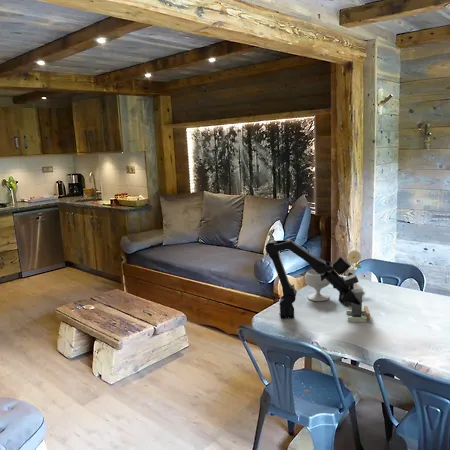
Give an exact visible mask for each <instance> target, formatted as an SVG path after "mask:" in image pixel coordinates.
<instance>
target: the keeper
mask: <svg viewBox="0 0 450 450" xmlns="http://www.w3.org/2000/svg"><path fill="white" fill-rule="evenodd" d="M345 314H346V315H351V309H346V310H345ZM363 315H364V317H363ZM347 322H353V323H354V322H356V323H358V322H359V323H360V322H361V323H362V322H363V323H366V322H367V323H370V322H371V312H370V310H369V306H367V305H364V306H363V309H362V317H352V316H347Z"/></svg>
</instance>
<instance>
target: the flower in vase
mask: <svg viewBox="0 0 450 450" xmlns="http://www.w3.org/2000/svg"><path fill="white" fill-rule="evenodd" d="M346 256H347V259H346V260H347V261H348V263H349V264H350V265H351V267H350V268H349V269H348V270H347V271H348V272H351V273H354V274H356V271H357V270H358V269H362V266H361V264H360V263H358V262H359V261H360V260H361V253H360V252H359V251H358V250H357V249H355V250H353V249H352V250H351V251H349V252H348V253H347V255H346ZM354 264H355V265H354ZM354 289H361V291H362V292H363V291H364V287H363V286H362V285H361V284H359V282H357V283H354Z"/></svg>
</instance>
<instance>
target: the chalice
mask: <svg viewBox="0 0 450 450" xmlns="http://www.w3.org/2000/svg"><path fill="white" fill-rule="evenodd" d="M323 274H324V273H323ZM304 282H305V284H306V285H308V287H310V288H313V289H314V290H315V293H314V292H313V293H310V294H308V295H307V296H306V298H307V299H308V300H309V301H314V302H324V301H325V302H326V301H328V300H330V296H329V295H328V294H327V293H326V294H325V293H321V290H323V289H324V288H326V287H328V286H329V285H331V284H330V283H329V282H328V281H327V280H326V279H324V280H323V281H321V276H320V274H319V273H317V272H316V271H315V270H314V269H313V268H311V269H308V270H307V271H306V273H305V275H304Z"/></svg>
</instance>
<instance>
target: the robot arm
mask: <svg viewBox="0 0 450 450" xmlns="http://www.w3.org/2000/svg"><path fill="white" fill-rule="evenodd" d="M285 250H286V251H287V250H289V251H291V252H292V253H293V254H295V255H296V256H298V257H299V258H300V259H302V260H303V261H305V262H306V263H307V264H308V265H309V266H310V267H311V269H314V270H315V271H316V272H317V273H319V274H320V276H321V281H323V280H324V279H326V280H327V281H328V282H329V283H330V284H329V285H331V286H332V287H333V289H334V290H335V289H336V290H337V291H338V293H340V294H342V293H343V294H342V301H343V302H344V303H346V302H347V301H348V302H351V303H354V304H357V305H360V304H361V303H360V302H359V300H358V299H357V298H356V297H355V292H354V291H353V290H352V289H353V285H352V284H354V283H359V282H360V281H359V279H358V276H357V275H356V273H355V274H354V273H351V272H350V271H349V270H348V269H349V268H350V267H352V265H350V264H349V262H348V261H347V260H348V259H345V258H344V257H342V256H341V255H340V256H339V257H338V258H337V259H336V260H334V262H331V261H326V260H324V259H323V258H320V257H318V256H316V255H313V254H312V253H310V252H309V251H307V250H306V249H304V248H303V247H301V246H300V245H298V243H296V242H295V241H293V239H284V240H283V239H282V240H281V239H278V240H275V239H270V240H268V241H267V243H266V245H265V251H266V253H267V254H268V257H269V258H270V259H271V260H272V263H273V266H274V269H275V271H276V274H277V276H278V279H279V282H280V285H281V290H282V295H281V297H280V300H279V303H278V305H279V313H278V314H279V317H280V319H281V320H282V319H294V318H295V317H294V316H295V307H294V305H293V304H294V303H295V301H296V300H297V299H296V297H297V290H296V288H295V284H294V283H293V284H292V283H290V281H289V277H288V274H287V273H286V270H285V267H284V264H283V262H282V259H281V254H280V252H282V251H285ZM347 271H348V272H347ZM345 272H347V275H346V276H345V277H344V276H340V275H344V274H345ZM323 273H324V274H323ZM350 285H351V286H350Z"/></svg>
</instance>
